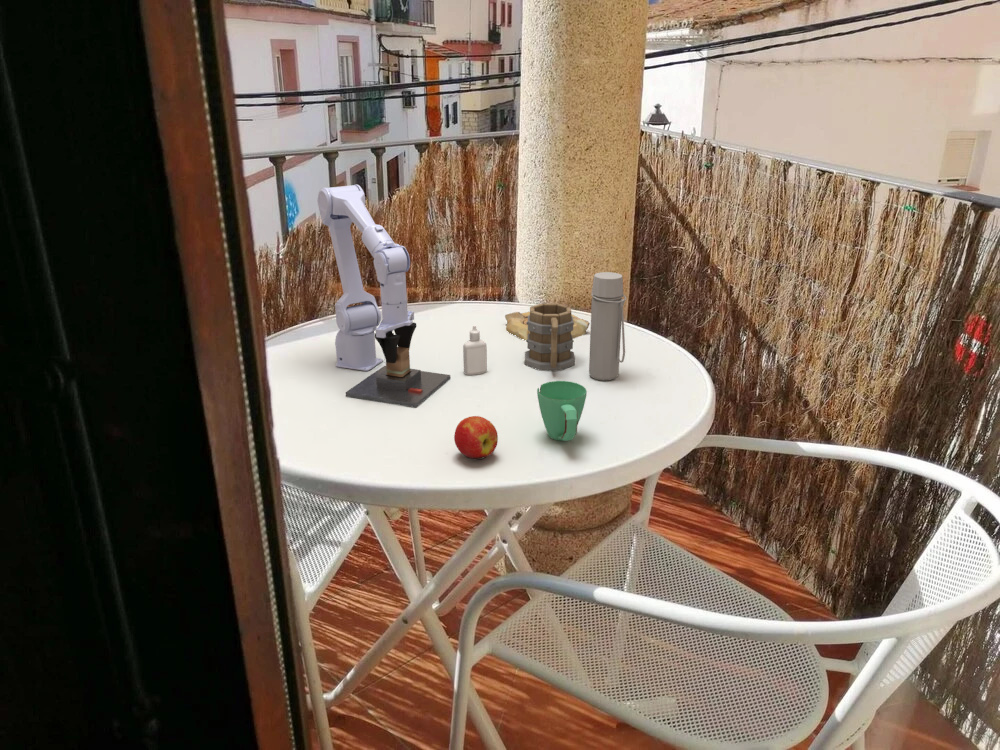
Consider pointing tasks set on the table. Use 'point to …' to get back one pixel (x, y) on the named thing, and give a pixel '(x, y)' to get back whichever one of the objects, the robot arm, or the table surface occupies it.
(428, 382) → the dark grey stepped base
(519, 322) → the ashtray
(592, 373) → the water bottle
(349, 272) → the robot arm
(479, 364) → the eye dropper bottle
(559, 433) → the mug
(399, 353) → the walnut post
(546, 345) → the tankard
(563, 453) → the table surface
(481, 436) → the apple
